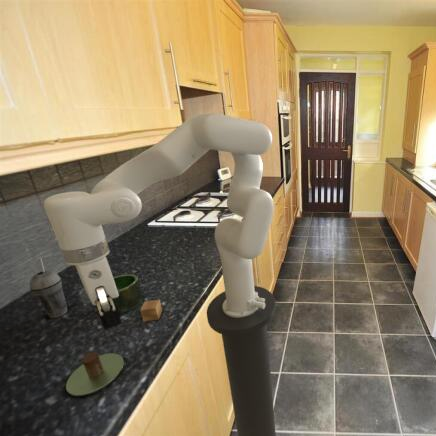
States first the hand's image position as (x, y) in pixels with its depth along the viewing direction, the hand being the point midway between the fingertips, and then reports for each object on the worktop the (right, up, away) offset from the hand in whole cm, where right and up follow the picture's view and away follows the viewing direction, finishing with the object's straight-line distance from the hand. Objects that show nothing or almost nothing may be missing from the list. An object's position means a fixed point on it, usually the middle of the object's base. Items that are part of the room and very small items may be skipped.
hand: (109, 315), depth 63 cm
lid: (-5, -16, +3) cm, 17 cm away
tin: (-16, -7, +29) cm, 34 cm away
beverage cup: (-35, -9, +25) cm, 44 cm away
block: (-3, -9, +23) cm, 25 cm away
